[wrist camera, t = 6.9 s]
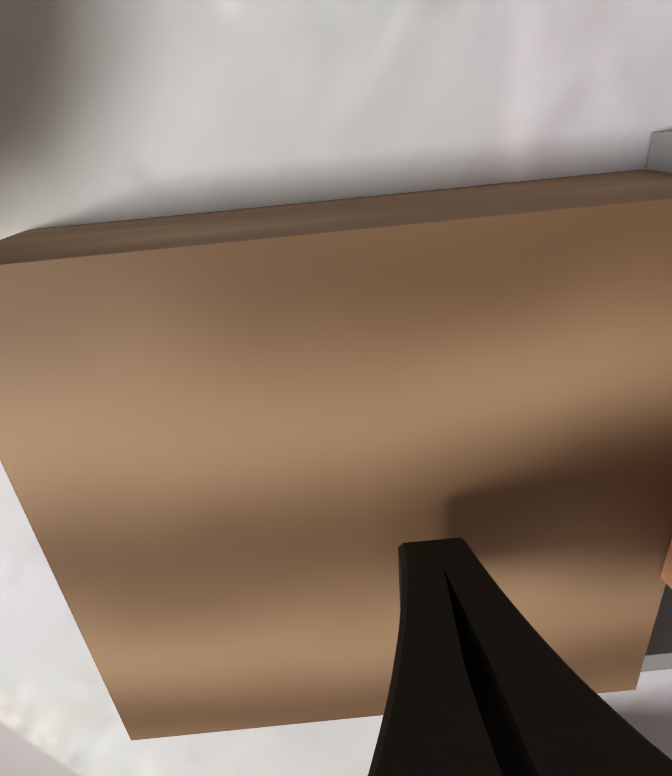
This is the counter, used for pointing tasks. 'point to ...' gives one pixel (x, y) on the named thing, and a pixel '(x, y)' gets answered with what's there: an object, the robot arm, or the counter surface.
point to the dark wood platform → (342, 433)
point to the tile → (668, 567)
